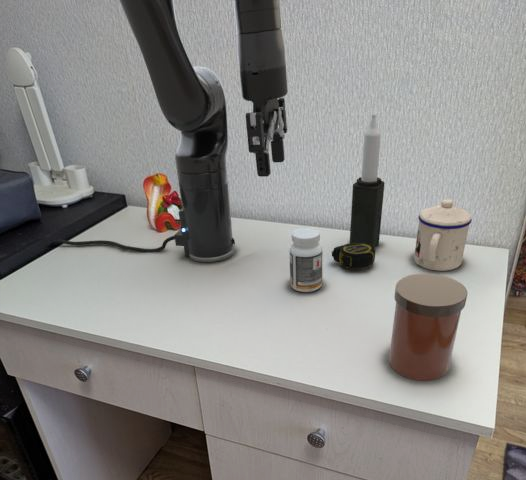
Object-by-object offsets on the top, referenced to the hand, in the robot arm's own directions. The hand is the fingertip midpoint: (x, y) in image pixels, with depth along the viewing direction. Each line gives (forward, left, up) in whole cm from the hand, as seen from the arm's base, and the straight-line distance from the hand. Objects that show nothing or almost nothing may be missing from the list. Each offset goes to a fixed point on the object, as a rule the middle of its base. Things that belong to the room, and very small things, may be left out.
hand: (271, 168), depth 88 cm
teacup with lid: (+30, +3, -18) cm, 35 cm away
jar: (+28, -29, -17) cm, 44 cm away
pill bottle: (+8, -10, -18) cm, 22 cm away
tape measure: (+15, 0, -18) cm, 23 cm away
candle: (+16, +9, -18) cm, 26 cm away
